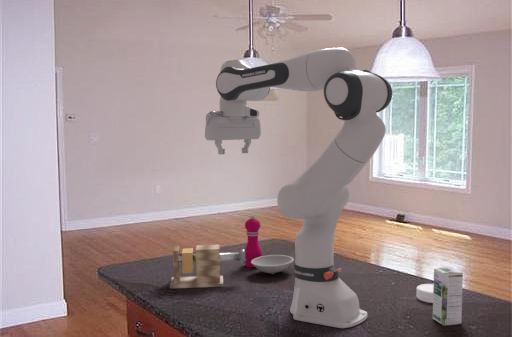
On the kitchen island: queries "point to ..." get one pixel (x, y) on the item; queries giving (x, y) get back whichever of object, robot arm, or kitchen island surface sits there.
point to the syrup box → (447, 296)
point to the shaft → (225, 256)
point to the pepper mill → (252, 241)
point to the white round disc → (425, 292)
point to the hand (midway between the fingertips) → (233, 153)
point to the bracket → (199, 268)
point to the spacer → (187, 260)
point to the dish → (272, 263)
